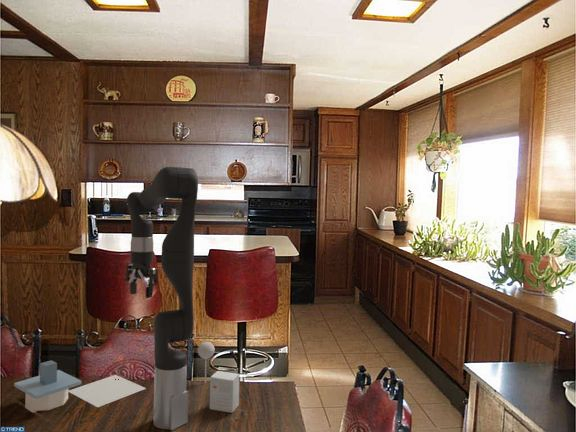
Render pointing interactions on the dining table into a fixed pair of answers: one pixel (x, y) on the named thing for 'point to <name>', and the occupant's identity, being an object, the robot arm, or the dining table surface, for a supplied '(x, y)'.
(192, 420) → the dining table surface
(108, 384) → the mat
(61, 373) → the lid
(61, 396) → the bowl
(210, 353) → the lollipop
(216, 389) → the small box
